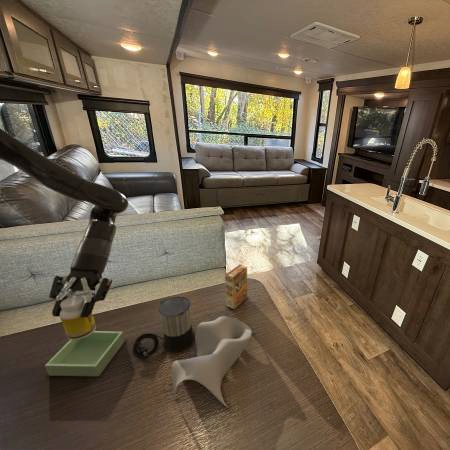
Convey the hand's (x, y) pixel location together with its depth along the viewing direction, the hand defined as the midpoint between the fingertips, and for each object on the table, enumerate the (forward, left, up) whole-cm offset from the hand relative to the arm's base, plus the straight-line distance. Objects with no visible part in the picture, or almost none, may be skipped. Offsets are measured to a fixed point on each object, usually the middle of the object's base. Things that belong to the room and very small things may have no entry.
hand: (70, 316), depth 65 cm
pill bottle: (0, +2, -8) cm, 8 cm away
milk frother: (+19, +8, -19) cm, 27 cm away
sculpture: (+37, +2, -19) cm, 41 cm away
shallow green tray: (-1, +3, -18) cm, 19 cm away
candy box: (+38, +30, -19) cm, 51 cm away
